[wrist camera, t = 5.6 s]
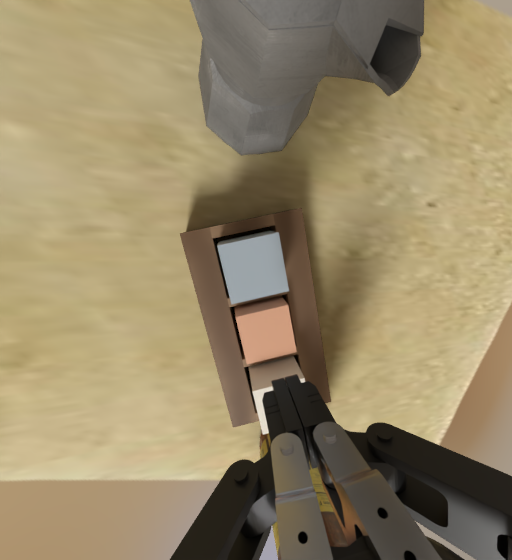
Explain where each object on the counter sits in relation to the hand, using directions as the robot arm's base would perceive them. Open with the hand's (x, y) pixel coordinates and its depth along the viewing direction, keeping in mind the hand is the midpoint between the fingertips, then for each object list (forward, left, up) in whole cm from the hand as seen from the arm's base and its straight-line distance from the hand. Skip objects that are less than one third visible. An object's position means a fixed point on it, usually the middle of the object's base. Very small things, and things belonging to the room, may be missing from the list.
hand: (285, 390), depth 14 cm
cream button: (0, -6, -10) cm, 11 cm away
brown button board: (0, 0, -12) cm, 12 cm away
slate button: (0, +6, -10) cm, 11 cm away
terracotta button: (0, 0, -11) cm, 11 cm away
